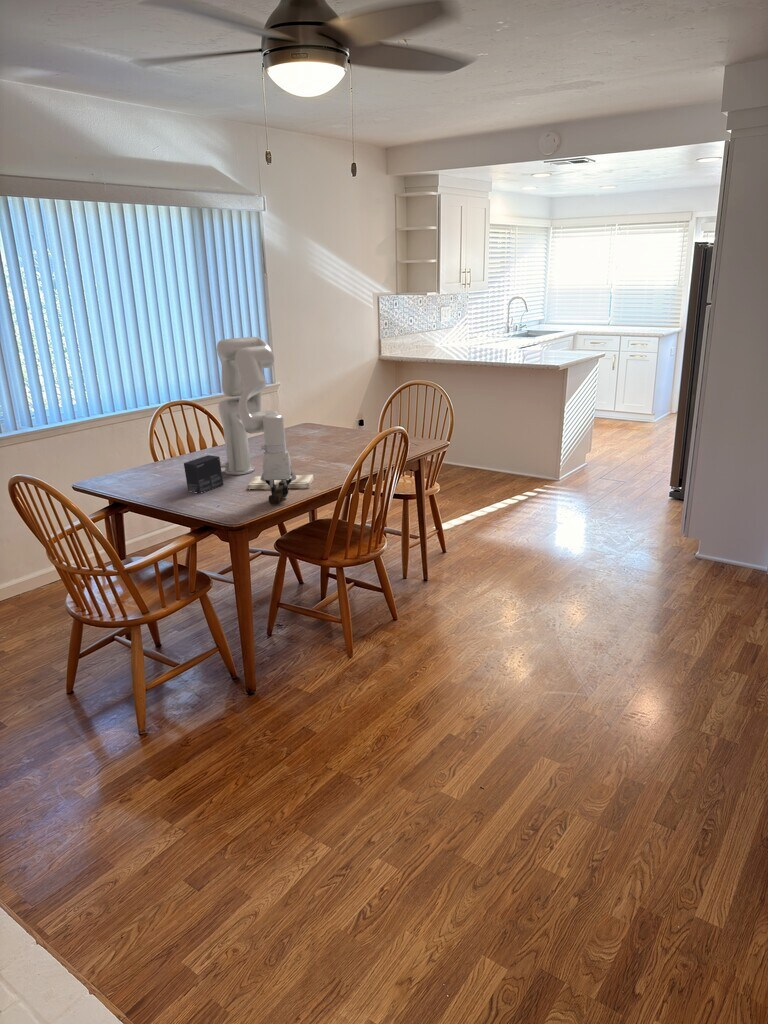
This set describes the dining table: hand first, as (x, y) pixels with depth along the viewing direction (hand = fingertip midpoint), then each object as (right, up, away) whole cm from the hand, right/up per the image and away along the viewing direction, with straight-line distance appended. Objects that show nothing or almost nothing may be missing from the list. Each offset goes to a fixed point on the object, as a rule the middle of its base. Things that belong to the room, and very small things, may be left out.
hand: (280, 495), depth 264 cm
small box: (-32, +3, +17) cm, 36 cm away
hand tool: (-1, -1, 0) cm, 1 cm away
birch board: (-2, +5, +17) cm, 18 cm away
